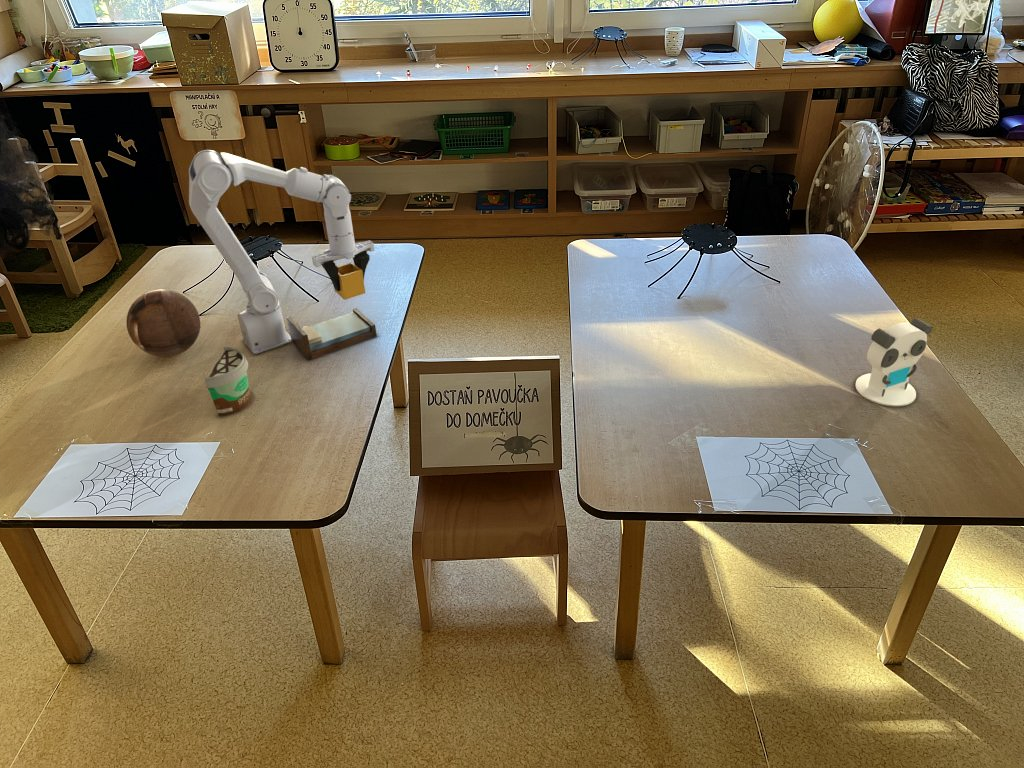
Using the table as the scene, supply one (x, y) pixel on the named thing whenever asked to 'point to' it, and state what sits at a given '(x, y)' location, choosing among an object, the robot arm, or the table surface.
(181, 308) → the wooden sphere
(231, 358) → the food container
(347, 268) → the small bin
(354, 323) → the toy bed
